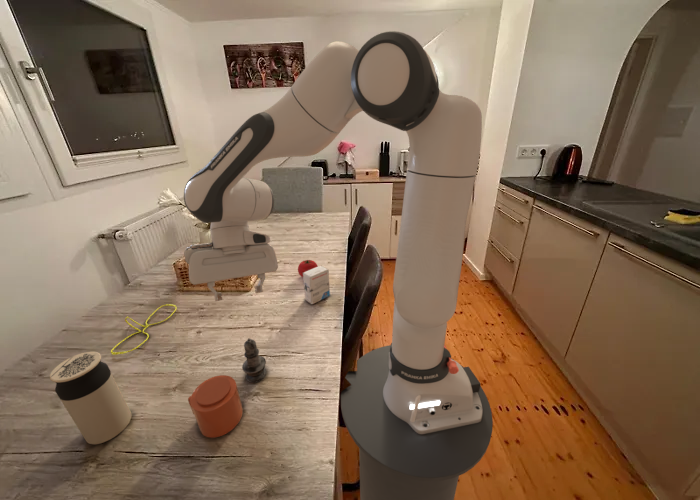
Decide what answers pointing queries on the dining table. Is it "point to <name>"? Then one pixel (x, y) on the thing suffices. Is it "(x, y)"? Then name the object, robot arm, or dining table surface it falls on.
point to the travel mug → (91, 397)
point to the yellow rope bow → (140, 330)
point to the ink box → (316, 284)
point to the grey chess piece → (253, 362)
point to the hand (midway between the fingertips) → (239, 296)
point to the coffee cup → (216, 406)
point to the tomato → (306, 266)
